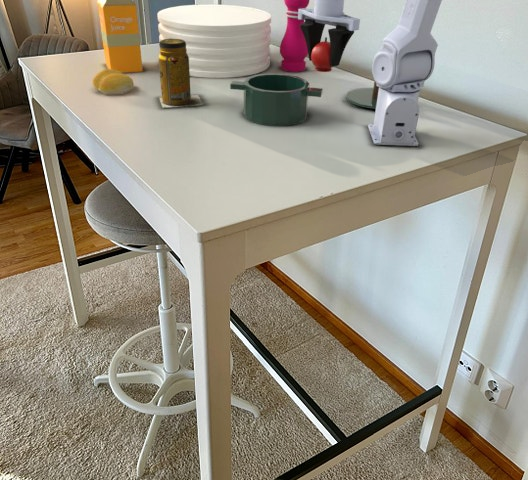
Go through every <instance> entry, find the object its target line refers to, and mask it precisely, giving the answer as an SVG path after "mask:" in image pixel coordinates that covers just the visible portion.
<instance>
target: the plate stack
mask: <svg viewBox="0 0 528 480" xmlns="http://www.w3.org/2000/svg"><path fill="white" fill-rule="evenodd" d="M157 22H158V24H157V27H158V33H159V36H158V40H159V42H160V41H161V40H164V39H181V40H184V41H185V42H186V49H187V52H186V53H187V55H188V57H189V73H190V77H195V78H208V79H212V78H213V79H224V78H225V79H227V78H240V77H246V76H253V75H257V74H259V73H262V72H264V71H266V70H267V69H269V67H270V65H271V58H270V55H271V36H270V35H271V33H272V26H271V24H272V15H271V14H270V12H268V11H266V10H262V9H260V8H255V7H250V6H243V5H232V4H213V3H212V4H211V3H210V4H185V5H177V6H171V7H168V8H163V9H161V10H159V11H158V12H157Z"/></svg>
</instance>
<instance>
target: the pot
mask: <svg viewBox="0 0 528 480" xmlns="http://www.w3.org/2000/svg"><path fill="white" fill-rule="evenodd" d="M229 88H230V90H235V91H236V90H238V91H243V117H244V118H245V119H246V120H248V121H250V122H252V123H255V124H258V125H261V126H269V127H272V126H273V127H285V126H287V127H288V126H292V125H298V124H300V123H302V122H304V121H305V120H306V119H307V117H308V116H307V115H308V109H309V98H310V97H313V98H315V97H316V98H322V95H323V91H324V89H323V88H320V87H310V82H309V80H307V79H305V78H302V77H300V76H297V75H291V74H285V73H262V74H261V73H260V74H253V75H250V76H249V77H246V78H245V79H244V80H242V81H241V80H240V81H239V80H233V81H232V82H230V85H229Z"/></svg>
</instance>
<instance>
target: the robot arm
mask: <svg viewBox="0 0 528 480" xmlns="http://www.w3.org/2000/svg"><path fill="white" fill-rule="evenodd" d="M442 1H443V0H405V1H404V4H403V6H402V7H403V8H402V11H401V14H400V18H399V21H398V24H397V26H396V27H395V28H394V29H393V30H391V32H389V33H388V34H387V35H386V36H385V37H384V38H383V39H382V43H381V46H380V48H379V50H378V51H377V52H376V54H375V55H374V57H373V60H372V65H371V72H372V77H373V81H374V80H375V82H376V83H377V84H376V86H378V87H379V91H378V98H377V105H376V109H375V112H374V119H373V124H371V123H370V124H368V125H367V128H368V131H369V133H370V136H371V139H372V142H373V144H374V145H379V146H402V147H418V146H419V143H420V142H418V139H417V138H416V131H417V127H418V122H419V121H418V120H419V115H420V108H419V104H418V103H419V97H420V92H421V88H424V85H425V82H426V81H427V80H428V79H429V78H430V77H432V74H433V73H434V69H435V65H436V63H435V62H436V61H435V60H436V59H435V58H436V51H437V49H438V46H439V44H438V42H437V41H436V39H435V38H434V36H433V35H432V29H433V26H434V24H435V21H436V18H437V15H438V12H439V10H440V6H441V5H442ZM313 4H314V5H313V8H307V7H306V8H302V9H298V19H299V20H304V23H302V24H300V28H301V30H302V32H303V35H304V37H305V41H306V45H307V49H308V55H307V57H308V60H309V61H310V62H312V60H311V53H312V50H313V48H314V47H315V46H316V45H317V44H318V43H320V42H322V36H323V32H324V31H325V30H324V29H325V26H326V25H327V26H330V27H331V26H332V27H333V28H328V30H327V33H328V36H329V42H330V66H332V68H334V67H338V66H340V63H341V59H342V57H343V55H344V52H345V49H346V47H347V45H348V43H349V41H350V39H351V38H352V36H353V35H354V33H355V31H359V30H360V23H361V19H360V18H358V17H353V16H351V15H348V14H345V12H344V5H345V0H314V3H313Z"/></svg>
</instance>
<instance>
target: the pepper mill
mask: <svg viewBox="0 0 528 480" xmlns="http://www.w3.org/2000/svg"><path fill="white" fill-rule="evenodd" d="M283 1H284V5H285V6H286V9H285V17H286V22H287V23H286V29H285V32H284V35H283V37H282V39H281V42H280V45H279V55H280V56H281V57H282V60H280V69H281V70H282V71H285V72H291V73H301V72H303V71H305V70H306V64H307V61H305V59H306V57H308V49H307V45H306V41H305V37H304V35H303V32H302V30H301V28H300V24H302V23H304V22H305V20H299V19H298V9H302V8H307V7H308V6H309V4H310V0H283Z"/></svg>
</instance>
